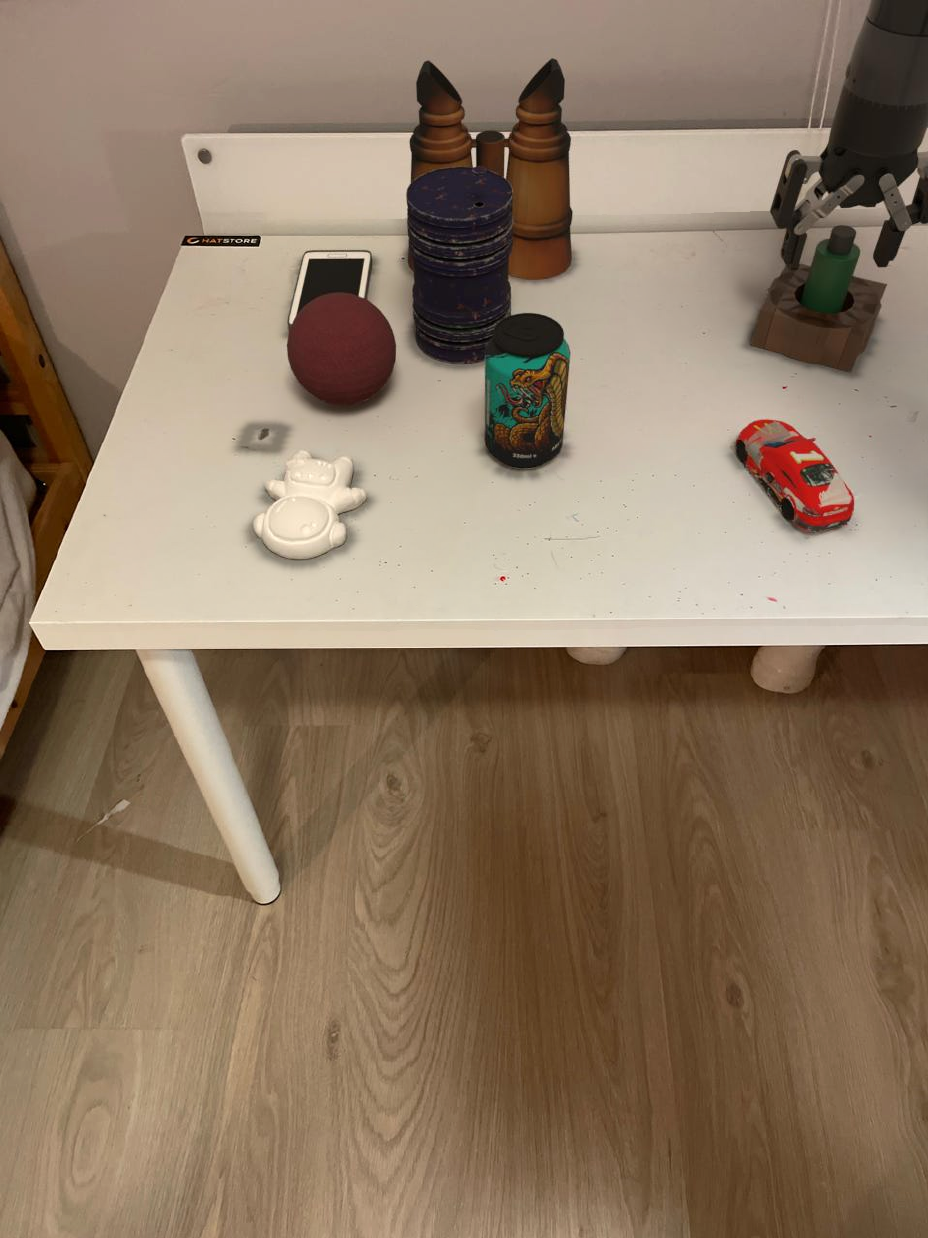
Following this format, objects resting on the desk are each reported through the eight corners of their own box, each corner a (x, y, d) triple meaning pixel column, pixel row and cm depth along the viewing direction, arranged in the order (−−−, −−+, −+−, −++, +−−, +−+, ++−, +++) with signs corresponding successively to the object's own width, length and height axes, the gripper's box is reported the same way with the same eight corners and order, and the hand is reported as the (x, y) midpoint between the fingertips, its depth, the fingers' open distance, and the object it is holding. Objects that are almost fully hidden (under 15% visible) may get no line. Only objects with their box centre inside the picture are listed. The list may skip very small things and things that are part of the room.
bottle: (837, 326, 95) (871, 225, 87) (827, 347, 93) (861, 245, 85) (798, 316, 96) (828, 215, 88) (787, 336, 94) (817, 235, 86)
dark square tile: (276, 451, 85) (274, 442, 84) (245, 450, 86) (242, 440, 84) (282, 429, 87) (280, 419, 86) (251, 428, 87) (249, 418, 86)
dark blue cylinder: (395, 330, 96) (380, 153, 82) (470, 296, 100) (468, 121, 86) (453, 377, 91) (448, 197, 77) (530, 339, 95) (538, 161, 81)
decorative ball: (280, 382, 91) (261, 290, 83) (372, 351, 94) (362, 259, 86) (321, 440, 85) (305, 348, 78) (418, 405, 88) (411, 312, 81)
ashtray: (878, 318, 96) (891, 283, 93) (853, 375, 90) (866, 339, 87) (776, 292, 99) (785, 257, 96) (746, 346, 93) (755, 310, 90)
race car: (723, 443, 84) (732, 407, 81) (777, 430, 85) (788, 395, 82) (798, 543, 76) (811, 508, 73) (856, 528, 77) (872, 493, 74)
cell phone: (373, 257, 105) (372, 249, 104) (362, 334, 95) (361, 325, 95) (305, 257, 105) (303, 249, 104) (287, 334, 96) (285, 326, 95)
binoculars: (406, 280, 102) (391, 84, 86) (409, 241, 107) (396, 49, 91) (574, 278, 101) (590, 81, 86) (569, 239, 107) (583, 46, 91)
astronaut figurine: (381, 471, 83) (378, 445, 80) (332, 569, 76) (327, 543, 73) (290, 454, 84) (285, 428, 82) (233, 548, 77) (226, 522, 75)
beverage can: (538, 483, 81) (546, 369, 72) (470, 456, 84) (468, 342, 74) (575, 437, 85) (587, 323, 76) (509, 413, 87) (512, 298, 78)
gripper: (819, 104, 74) (770, 289, 86) (997, 98, 74) (922, 283, 87) (794, 65, 78) (751, 246, 91) (962, 60, 79) (896, 241, 91)
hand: (834, 264), depth 89 cm, fingers open, 8 cm apart
